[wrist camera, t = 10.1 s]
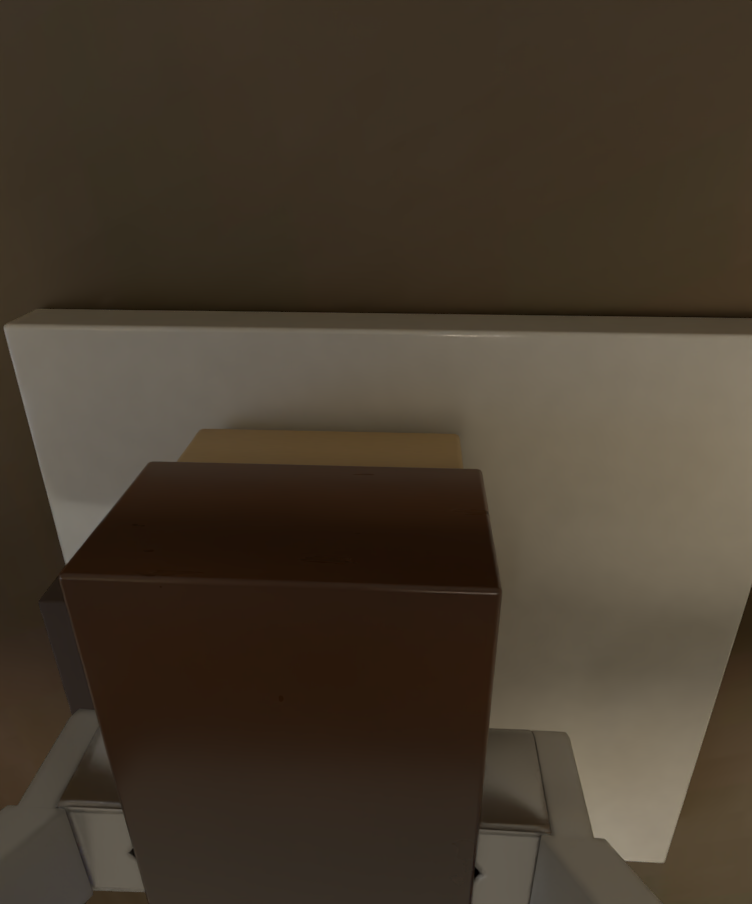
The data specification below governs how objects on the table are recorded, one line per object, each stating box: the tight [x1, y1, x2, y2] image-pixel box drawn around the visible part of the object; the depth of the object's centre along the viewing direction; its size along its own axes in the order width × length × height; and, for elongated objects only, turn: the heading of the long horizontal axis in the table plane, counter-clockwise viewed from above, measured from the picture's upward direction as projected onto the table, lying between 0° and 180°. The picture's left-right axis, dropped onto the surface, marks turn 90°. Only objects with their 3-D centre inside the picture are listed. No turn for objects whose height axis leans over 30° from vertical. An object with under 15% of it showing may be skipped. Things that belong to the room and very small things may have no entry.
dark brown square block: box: [39, 576, 95, 715], centre depth 12 cm, size 3×3×1 cm
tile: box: [4, 309, 752, 863], centre depth 13 cm, size 12×12×1 cm
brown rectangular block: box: [59, 429, 502, 904], centre depth 10 cm, size 9×4×4 cm, turn 0°
